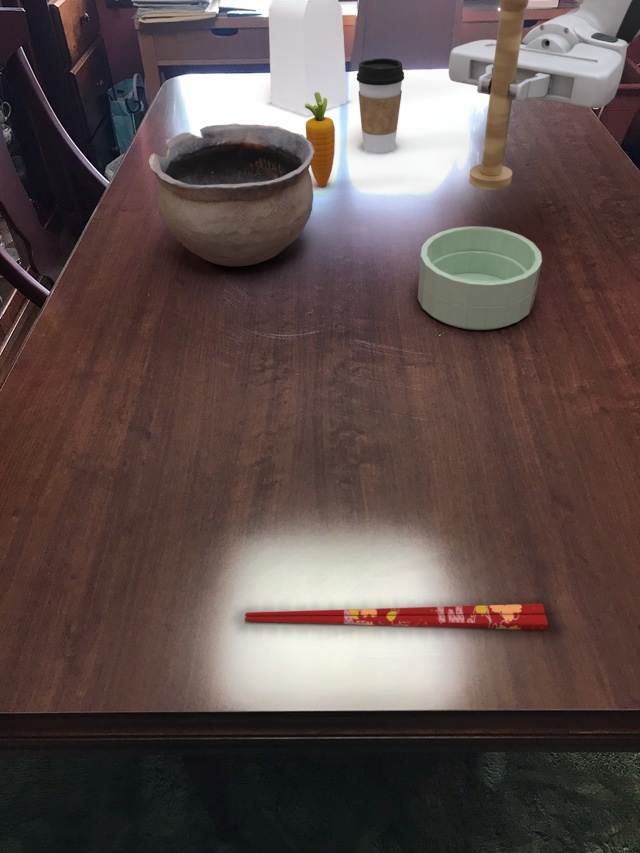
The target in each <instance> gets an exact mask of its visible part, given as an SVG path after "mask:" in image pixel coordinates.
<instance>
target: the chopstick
mask: <svg viewBox="0 0 640 853" xmlns="http://www.w3.org/2000/svg"><path fill="white" fill-rule="evenodd" d="M244 616H245V617H244V621H245V622H259V623H260V622H264V623H293V624H295V623H296V624H323V625H324V624H326V625H327V624H329V625H361V626H363V625H364V626H393V627H423V628H424V627H425V628H454V629H455V628H457V629H458V628H459V629H485V630H486V629H490V630H491V629H492V630H493V629H494V630H525V631H527V630H528V631H546V630H547V628H548V625H549V623H548V618H547V616H546V611H545V607H544V604H543V603H523V604H522V603H519V604H517V603H515V604H485V605H458V606H457V605H454V606H453V605H451V606H450V605H449V606H418V607H417V606H415V607H387V608H386V607H384V608H357V609H356V608H352V609H349V608H348V609H315V610H314V609H313V610H287V611H286V610H285V611H284V610H281V611H251V612H250V611H249V612H248V611H247V612H245V614H244Z"/></svg>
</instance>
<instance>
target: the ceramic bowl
mask: <svg viewBox="0 0 640 853" xmlns="http://www.w3.org/2000/svg"><path fill="white" fill-rule="evenodd" d="M199 133H200V136H198V135H195V134H193V133H192V132H181V133H178V134H177V135H175V136H174V137H171V138H168V139H166V140H165V145H166V155H165V157H163V156H160V155H158V154H157V153H156V152H153V153H152V154H150V156H149V159H148V165H149V166H150V169H151V171H152V172H153V174H154V175H155V177H156V180H157V181H158V182H157V200H158V208H159V211H160V215H161V217H162V219H163V222H164V224H165V226H166V227H167V228H168V230H169V231H170V232H171V233H172V235H173V236H174V238H175V239H176V240H177V241H178V242H179V243H180V244H181V245H182V246H184V247H185V248H186V249H187V250H189V252H191V253H193V254H194V255H196V256H198V257H199V258H200V259H201V258H202V259H203V260H204V261H206V262H209V263H212V264H214V265H218V266H222V267H246V266H252V265H256V264H257V265H258V264H259V263H262V262H266V261H268V260H270V259H272V258H274V257H276V256H278V255H279V254H281V253H282V252H283V251H284V250H286V249H287V247H289V246H290V245H291V244H292V243H293V242H294V241H296V240H297V239H298V238H299V236H300V235H301V234H302V232H303V231H304V229H305V227H306V225H307V223H308V221H309V220H310V217H311V214H312V212H313V205H314V204H313V203H314V187H313V180H312V175H311V173H310V172H311V171H310V168H311V165H310V164H311V162H312V159H313V156H314V152H315V151H314V148H313V146H312V143H311V142H310V141H308V140H307V139H306V136H304V135H303V134H301V133H296V132H292V131H290V130H288V129H286V128H282V127H280V126H277V125H266V124H265V125H264V124H239V123H229V124H215V125H207V126H204V127H201V128H200V130H199Z"/></svg>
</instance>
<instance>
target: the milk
mask: <svg viewBox="0 0 640 853" xmlns="http://www.w3.org/2000/svg"><path fill="white" fill-rule="evenodd" d="M343 18H344V17H343V8H342V5H341V3H340V1H339V0H271V2H270V5H269V8H268V34H269V35H268V36H269V38H268V40H269V71H270V72H269V73H270V74H269V75H270V104H271V105H273V106H276V107H279V108H282V109H285V110H288V111H291V112H294V113H296V114H299V115H303V116H305V117H311V116H314V114H313V113H312V112H311V111H310V110H309V109H307V108H305V104H310V105H312V106H314V105H316V106H317V107H318V105H317V102H316V99H315V95H314V94H315V93H316V92H319V93H320V96H321V100H322V103H323V99H324V98H326V99H327V106H326V110H325V111H328V110H330V109H333V108H335V107H339V106H341V105H344V104H347V103H348V91H347V89H348V88H347V72H346V55H345V54H346V53H345V38H344V19H343Z"/></svg>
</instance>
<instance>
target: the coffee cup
mask: <svg viewBox="0 0 640 853" xmlns="http://www.w3.org/2000/svg"><path fill="white" fill-rule="evenodd" d="M403 68H404V67H403V62H401V61H400V60H398V59H395V58H394V59H393V58H381V57H380V58H371V59H367V60H363V61H360V62H359V63H358V71H357V74H356V81H357V82H358V103H359V113H360V114H359V115H360V126H361V137H362V138H361V139H362V149H363V151H365V152H367V153H370V154H386V153H387V154H388V153H391V152H393V151H394V150H395V148H396V139H397V130H398V124H399V116H400V108H401V101H402V94H403V90H402V82H403V81H404V80H405V71H404V69H403Z"/></svg>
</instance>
